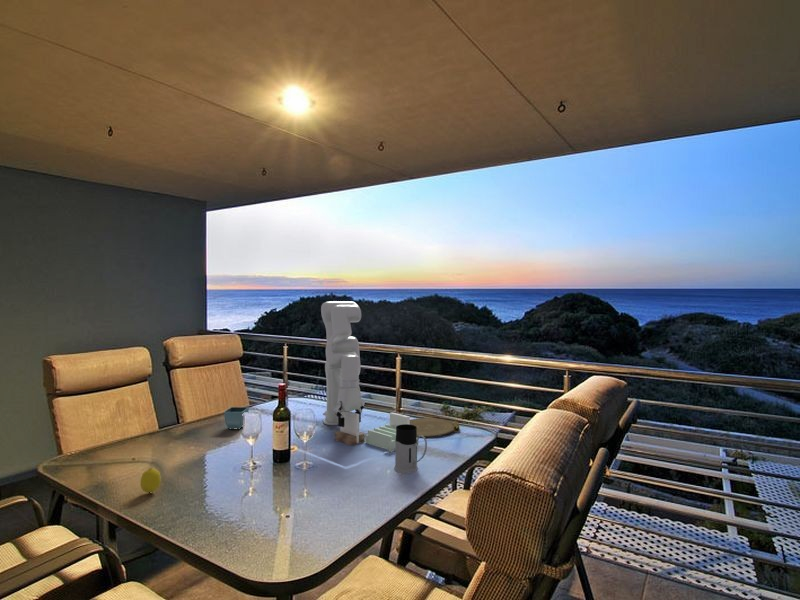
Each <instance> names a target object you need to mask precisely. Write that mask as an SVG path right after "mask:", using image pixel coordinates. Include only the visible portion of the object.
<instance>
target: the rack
mask: <svg viewBox="0 0 800 600" xmlns="http://www.w3.org/2000/svg"><path fill="white" fill-rule="evenodd" d="M410 420H411V419H410V416H409V415H404V414H400V413H395V412H390V413H389V424H387V423H385V425H384V426H382V425H380V426H379V427H374V428H373V430H372V429H367V434H365V439H364V441H365V442H364V443H366V444H368V445H372V446H374V447H378V448H381V449H384V450H386V452H387V453H391V452H393V451H395V438H396V426H398V425H403V424H409V425H410Z"/></svg>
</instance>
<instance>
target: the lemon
mask: <svg viewBox="0 0 800 600" xmlns="http://www.w3.org/2000/svg"><path fill="white" fill-rule="evenodd" d="M161 483H162V478H161V473H160V471H159V470H158V469H156V468H153V467H150V468H148V469H146V470H145V471H144V472H143V473H142V475H141V478H140V487H141V489H142V491H143V492H145V493H148V492H152V493H154V492H155V491H157V490H158V489H159V487H160V485H161Z"/></svg>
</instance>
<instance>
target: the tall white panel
mask: <svg viewBox="0 0 800 600" xmlns="http://www.w3.org/2000/svg"><path fill="white" fill-rule="evenodd" d="M341 414H342V413H341ZM339 428H340V429H339V431H341V432H344V433H348V434H351V435H354V436H357V443H359V432H360V422H359V414H357V413H355V412H353V411H349V412H346V413H345V415H344V427H340V426H339Z"/></svg>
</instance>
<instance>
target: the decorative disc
mask: <svg viewBox="0 0 800 600" xmlns="http://www.w3.org/2000/svg"><path fill="white" fill-rule="evenodd" d="M410 425H414V426H416V427H417V438H418V436H420V435H422V436H424V437H425V438H436V437H441V436H445V435H449V434H450V433H453V432H454V433H460V424H459V423H458V421H451V420H448V419H443V418H437V417H436V418H435V417H423V418H413V419H410Z"/></svg>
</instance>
